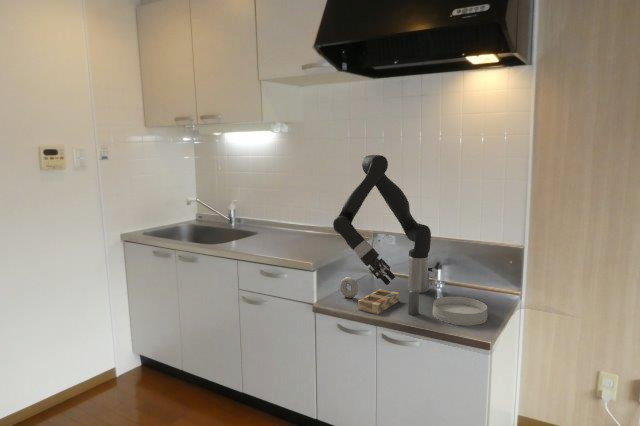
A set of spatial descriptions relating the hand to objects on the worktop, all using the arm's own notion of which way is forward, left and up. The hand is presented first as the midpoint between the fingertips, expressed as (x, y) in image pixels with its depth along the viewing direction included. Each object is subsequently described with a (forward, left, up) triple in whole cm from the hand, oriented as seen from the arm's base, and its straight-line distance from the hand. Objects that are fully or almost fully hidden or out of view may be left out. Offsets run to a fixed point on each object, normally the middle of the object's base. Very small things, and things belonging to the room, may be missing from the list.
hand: (391, 281), depth 201 cm
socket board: (+1, -8, -13) cm, 16 cm away
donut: (+9, -23, -13) cm, 28 cm away
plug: (-7, +7, -13) cm, 16 cm away
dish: (-24, +16, -14) cm, 32 cm away
